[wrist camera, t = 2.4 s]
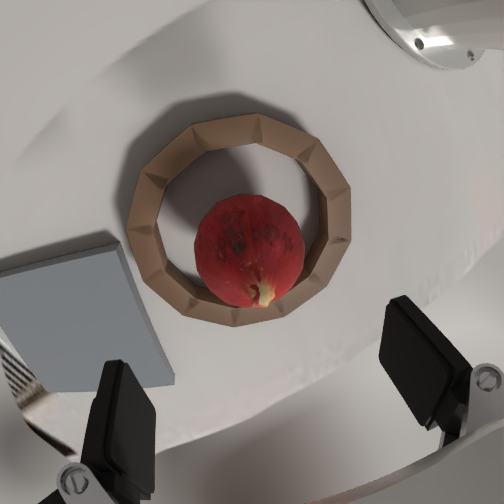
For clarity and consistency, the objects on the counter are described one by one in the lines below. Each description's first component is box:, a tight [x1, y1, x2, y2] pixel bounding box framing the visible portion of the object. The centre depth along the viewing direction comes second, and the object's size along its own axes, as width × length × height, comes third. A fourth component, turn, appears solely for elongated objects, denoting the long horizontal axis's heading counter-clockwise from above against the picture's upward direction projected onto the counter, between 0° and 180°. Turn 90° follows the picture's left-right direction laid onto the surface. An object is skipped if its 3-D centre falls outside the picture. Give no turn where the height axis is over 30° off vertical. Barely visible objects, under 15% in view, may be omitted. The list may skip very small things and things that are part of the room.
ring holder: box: [126, 113, 351, 327], centre depth 19 cm, size 14×14×2 cm
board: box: [0, 242, 175, 392], centre depth 21 cm, size 14×13×1 cm
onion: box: [194, 194, 305, 308], centre depth 16 cm, size 6×6×8 cm
